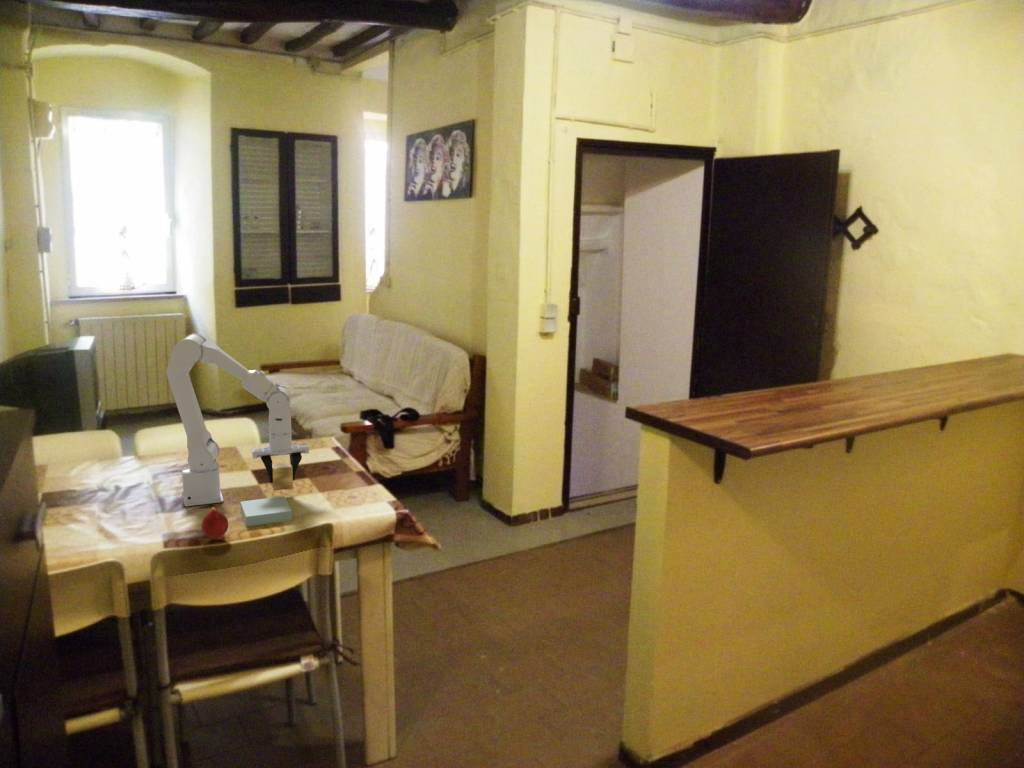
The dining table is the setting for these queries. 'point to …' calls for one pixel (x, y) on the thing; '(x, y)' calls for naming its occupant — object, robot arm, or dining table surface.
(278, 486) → the ochre block
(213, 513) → the onion
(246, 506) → the base block
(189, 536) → the dining table surface
